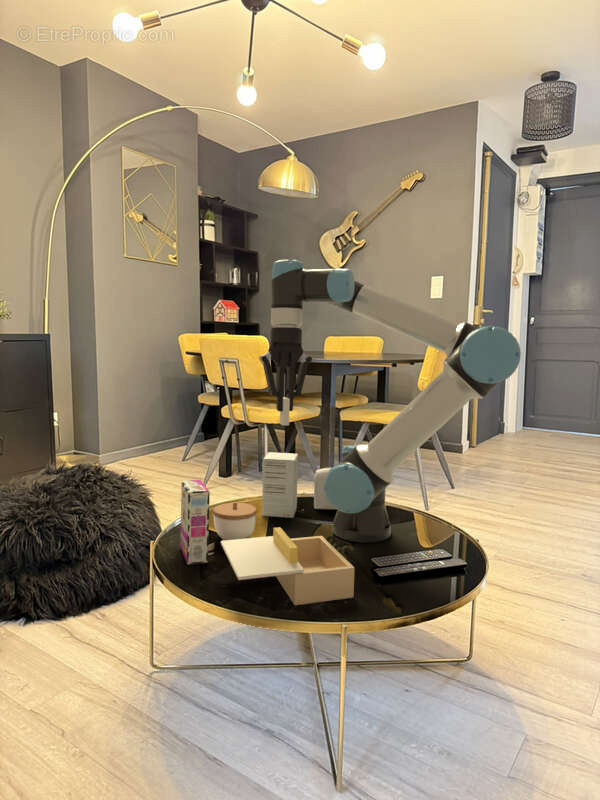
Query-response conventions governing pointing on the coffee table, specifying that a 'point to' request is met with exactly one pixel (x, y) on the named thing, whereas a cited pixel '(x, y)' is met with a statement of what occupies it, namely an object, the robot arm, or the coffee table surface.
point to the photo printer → (321, 490)
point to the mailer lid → (263, 556)
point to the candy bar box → (194, 521)
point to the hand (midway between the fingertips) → (284, 424)
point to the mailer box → (318, 573)
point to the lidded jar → (234, 520)
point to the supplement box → (279, 484)
